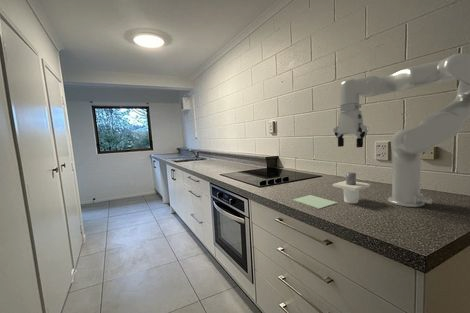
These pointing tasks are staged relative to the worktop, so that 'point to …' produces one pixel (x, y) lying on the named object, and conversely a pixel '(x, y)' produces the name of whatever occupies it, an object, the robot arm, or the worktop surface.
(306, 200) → the mat
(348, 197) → the white cup
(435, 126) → the robot arm
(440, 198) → the worktop surface
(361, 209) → the worktop surface
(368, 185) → the lid
